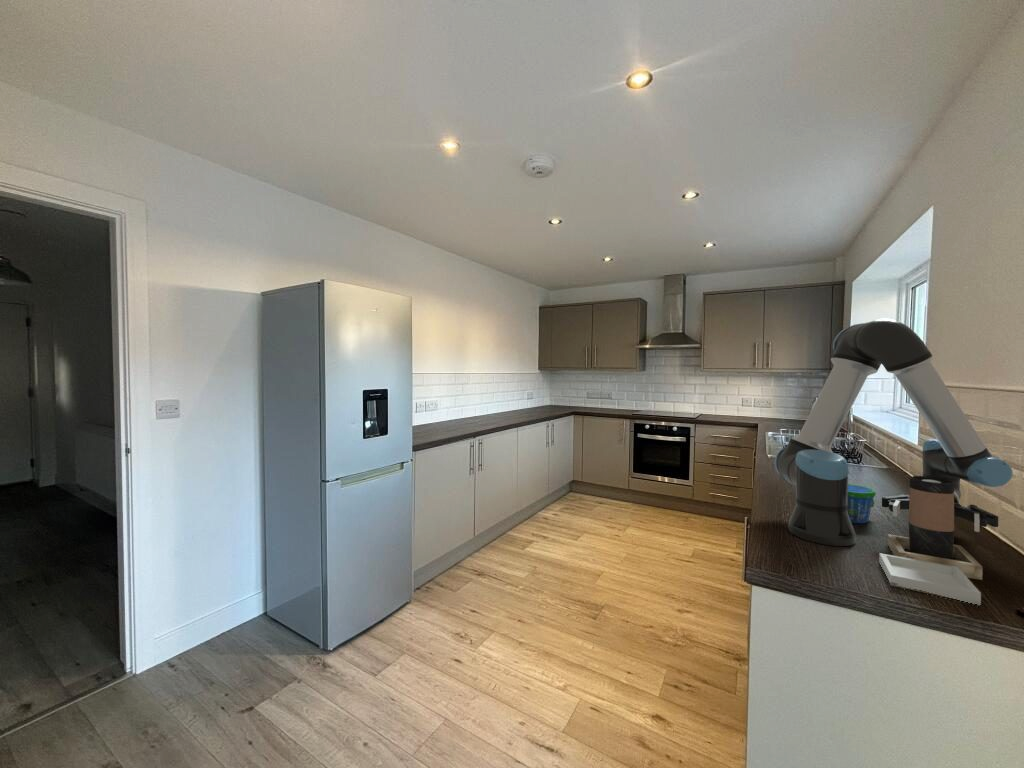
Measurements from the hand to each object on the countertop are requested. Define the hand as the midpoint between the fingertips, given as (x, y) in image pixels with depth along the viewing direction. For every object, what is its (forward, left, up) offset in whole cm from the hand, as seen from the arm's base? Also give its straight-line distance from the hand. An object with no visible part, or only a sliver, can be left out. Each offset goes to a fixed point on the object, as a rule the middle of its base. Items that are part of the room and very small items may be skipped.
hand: (933, 518), depth 97 cm
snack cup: (-12, +27, -11) cm, 32 cm away
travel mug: (0, +1, -11) cm, 11 cm away
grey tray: (-4, -14, -11) cm, 18 cm away
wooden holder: (0, +1, -11) cm, 11 cm away
